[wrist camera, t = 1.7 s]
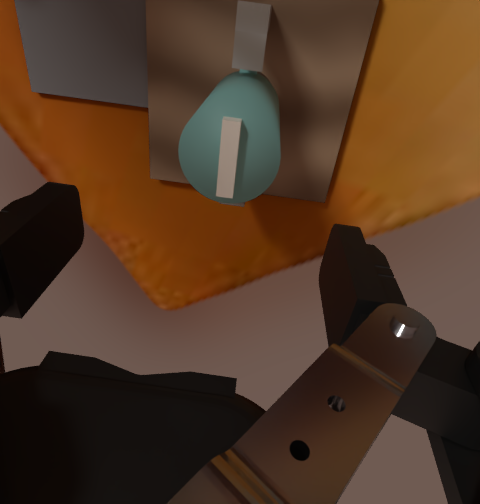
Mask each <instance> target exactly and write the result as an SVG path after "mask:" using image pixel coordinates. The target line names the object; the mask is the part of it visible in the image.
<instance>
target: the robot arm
mask: <svg viewBox="0 0 480 504" xmlns="http://www.w3.org/2000/svg"><path fill="white" fill-rule="evenodd" d="M83 238H84V226H83V218H82V211H81V204H80V197H79V192H78V189H77V188H76V186H74V185H68V184H61V183H54V182H47V183H46V184H45V185H43V186H42V187H40V188H39V189H38V190H36V191H35V192H34V193H33V194H31V195H28V196H25V197H23V198H20V199H18V200H15V201H13V202H11V203H10V204H9V205H7V206H6V207H4V208H3V209H2V210H1V212H0V317H1V316H8V317H15V318H22V317H23V316H24V315H25V313H27V311H28V310H29V309H30V308H31V307H32V305H33V304H34V303H35V302H36V301H37V299H38V298H39V297H40V296H41V294H42V293H43V292H44V291H45V290H46V288H47V287H48V286H49V285H50V284H51V282H52V281H53V280H54V279H55V278H56V276H57V275H58V274H59V273H60V272H61V270H62V269H63V268H64V267H65V266H66V264H67V263H68V262H69V261H70V259H71V258H72V257H73V256H74V255H75V253H76V252H77V251H78V250H79V249H80V247H81V245H82V242H83ZM319 287H320V294H321V300H322V307H323V313H324V319H325V326H326V332H327V339H328V346H329V347H328V349H326V350H325V351H324V353H323V354H322V355H321V356H320V357H319V358H318V359H317V360H316V361H315V362H314V363H313V364H312V365H311V366H310V367H309V368H308V369H307V370H306V371H305V372H304V373H303V374H302V375H301V376H300V377H299V378H298V379H297V380H296V381H295V382H294V383H293V384H292V386H291V387H290V388H289V389H288V390H287V391H286V392H285V393H284V394H283V395H282V396H281V397H280V398H279V399H278V400H277V401H276V402H275V403H274V404H273V405H272V406H271V407H270V408H269V409H268V410H267V411H265V410H264V409H262V408H261V407H260V406H258V405H257V404H255V403H254V402H252V401H251V400H249V399H247V398H245V397H243V396H241V395H238V394H236V393H235V390H236V389H235V388H236V380H237V379H236V378H230V377H223V376H216V375H209V374H203V373H196V372H179V373H166V374H151V375H137V374H134V373H132V372H129V371H127V370H124V369H122V368H119V367H117V366H114V365H112V364H110V363H107V362H105V361H102V360H100V359H97V358H94V357H87V356H80V355H74V354H67V353H60V352H53V351H49V352H48V354H47V355H46V357H45V358H44V359H43V361H42V362H41V364H40V365H39V366H32V367H26V368H20V369H17V370H13V371H9V372H6V373H5V367H4V359H3V352H2V345H1V338H0V504H336V503H337V502H338V500H339V499H340V497H341V495H342V493H343V492H344V490H345V489H346V487H347V485H348V484H349V482H350V480H351V479H352V477H353V476H354V474H355V472H356V471H357V469H358V467H359V465H360V464H361V462H362V461H363V459H364V458H365V456H366V454H367V453H368V451H369V449H370V448H371V446H372V444H373V443H374V441H375V440H376V438H377V436H378V435H379V433H380V431H381V430H382V428H383V426H384V425H385V423H386V422H387V420H388V418H389V417H390V415H391V414H393V415H395V416H397V417H400V418H402V419H404V420H406V421H409V422H411V423H413V424H415V425H418V426H420V427H422V428H424V429H426V430H427V433H428V437H429V440H430V443H431V447H432V450H433V454H434V457H435V461H436V464H437V467H438V470H439V474H440V477H441V481H442V484H443V487H444V491H445V494H446V498H447V501H448V504H480V342H478V344H477V345H476V346H475V348H474V349H473V351H472V350H469V349H467V348H464V347H461V346H458V345H456V344H453V343H450V342H447V341H445V340H443V339H440V338H438V337H436V331H435V328H434V326H433V325H432V323H431V322H430V321H429V320H428V319H427V318H426V317H425V316H423V315H422V314H421V313H419V312H417V311H416V310H414V309H412V308H410V307H407V304H406V302H405V300H404V298H403V295H402V293H401V291H400V288H399V286H398V284H397V282H396V280H395V278H394V275H393V273H392V270H391V269H390V266H389V263H388V261H387V259H386V257H385V255H384V254H383V253H382V252H381V251H380V250H379V249H378V248H376V247H375V246H374V245H370V244H366V242H365V240H364V237H363V234H362V232H361V229H360V228H359V227H355V226H348V225H341V224H334V225H333V227H332V230H331V233H330V236H329V239H328V243H327V246H326V249H325V253H324V256H323V259H322V263H321V267H320V273H319Z"/></svg>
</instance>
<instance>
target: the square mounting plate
mask: <svg viewBox="0 0 480 504" xmlns="http://www.w3.org/2000/svg"><path fill="white" fill-rule="evenodd" d="M378 3H379V0H146V36H147V74H148V111H149V149H150V178H152V179H159V180H166V181H173V182H180V183H188V184H190V183H189V181H188V180H187V178H186V177H185V175H184V173H183V171H182V168H181V165H180V161H179V153H178V148H179V141H180V137H181V134H182V131H183V129H184V128H185V126H186V124H187V123H188V121H189V120H190V119H191V118H192V116H193V115H194V114H195V112H196V111H197V110H198V109H199V107H200V106H201V105H202V104H203V102H204V101H205V100H206V98H207V97H208V96H209V95H210V93H211V92H212V91H213V90H214V88H215V87H216V86H217V84H218V83H219V82H220V81H221V80H222V79H223V78H224V77H226V76H227V75H229V74H231V73H233V72H237V71H240V69H243V70H251V71H257V73H258V74H260V75H262V76H263V77H265V78H266V79H267V80H268V81H269V82H270V83H271V84H272V85H273V87H274V89H275V90H276V93H277V95H278V99H279V113H280V151H281V159H280V166H279V170H278V173H277V175H276V177H275V179H274V181H273V182H272V184H271V185H270V186H269V187H268V188H267V189H266V190H265V191H264V192H263V193H262V194H266V195H273V196H280V197H288V198H295V199H302V200H309V201H316V202H323V203H325V200H326V196H327V192H328V189H329V185H330V181H331V177H332V174H333V170H334V166H335V163H336V159H337V155H338V151H339V148H340V144H341V140H342V137H343V133H344V129H345V126H346V122H347V118H348V114H349V111H350V107H351V103H352V100H353V96H354V92H355V88H356V85H357V81H358V77H359V74H360V70H361V66H362V62H363V59H364V55H365V51H366V48H367V44H368V40H369V36H370V33H371V29H372V25H373V22H374V18H375V14H376V10H377V7H378ZM220 204H227V205H235V206H242V207H244V204H245V202H242V203H233V204H230V203H222V202H220Z"/></svg>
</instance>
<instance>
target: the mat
mask: <svg viewBox="0 0 480 504" xmlns="http://www.w3.org/2000/svg"><path fill="white" fill-rule="evenodd" d="M14 1H15V6H16V11H17V17H18V22H19V27H20V32H21V37H22V43H23V48H24V53H25V58H26V63H27V68H28V74H29V79H30V84H31V89H32V92H38V93H46V94H53V95H60V96H67V97H74V98H82V99H89V100H96V101H103V102H110V103H118V104H125V105H132V106H139V107H146V108H148V74H147V36H146V0H14Z"/></svg>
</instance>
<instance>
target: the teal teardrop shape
mask: <svg viewBox="0 0 480 504" xmlns="http://www.w3.org/2000/svg"><path fill="white" fill-rule="evenodd" d="M178 153H179V161H180V165H181V168H182V171H183V173H184V175H185V177H186V178H187V180H188V181H189V183H190V184H191V185H192V186H193V187H194V188H195V189H196V190H197V191H198V192H199V193H201V194H202V195H204V196H205V197H207V198H209V199H212V200H214V201H217V202H222V203H230V204H233V203H242V202H246V201H249V200H252V199H254V198H256V197H257V196H259V195H261V194H262V193H263V192H264V191H265V190H266V189H267V188H268V187H269V186H270V185H271V184H272V182H273V181H274V179H275V177H276V175H277V173H278V170H279V166H280V159H281V151H280V113H279V99H278V95H277V93H276V90H275V89H274V87H273V85H272V84H271V83H270V82H269V81H268V80H267V79H266V78H265V77H263V76H262V75H260V74H258V73H257V71H251V70H243V69H240V71H237V72H233V73H231V74H229V75H227V76H226V77H224V78H223V79H222V80H221V81H220V82H219V83H218V84H217V86H216V87H215V88H214V90H213V91H212V92H211V93H210V95H209V96H208V97H207V98H206V100H205V101H204V102H203V104H202V105H201V106H200V107H199V109H198V110H197V111H196V112H195V114H194V115H193V116H192V118H191V119H190V120H189V121H188V123H187V124H186V126H185V128H184V129H183V131H182V134H181V137H180V141H179V148H178Z"/></svg>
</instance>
